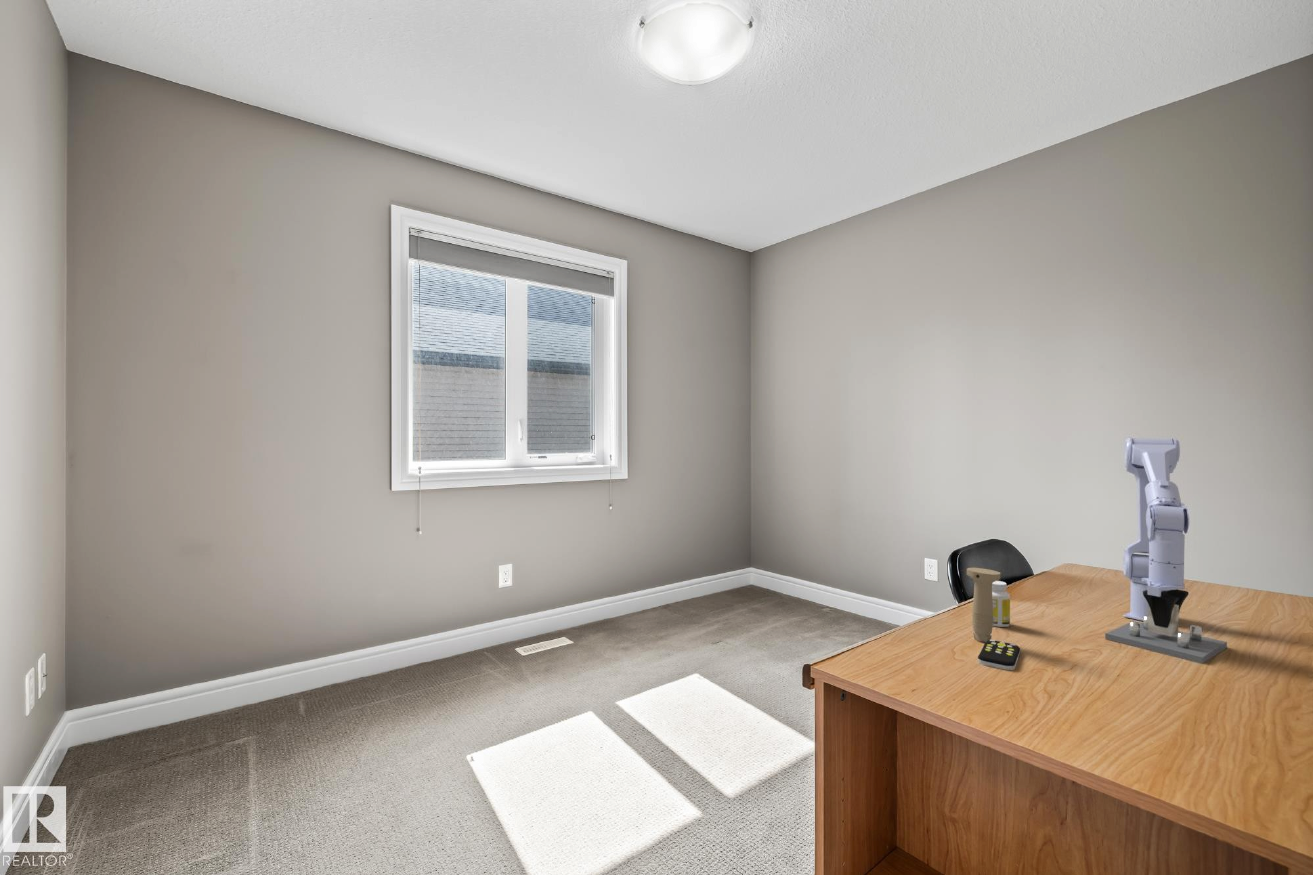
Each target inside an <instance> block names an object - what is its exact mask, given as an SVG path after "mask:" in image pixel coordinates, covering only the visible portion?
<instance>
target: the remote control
mask: <svg viewBox="0 0 1313 875" xmlns="http://www.w3.org/2000/svg"><path fill="white" fill-rule="evenodd" d="M1020 656H1021V648H1020V646H1018V645H1017V644H1016V643H1009V642H1005V641H1000V640H996V639H992V638H991V640H988V641H986V642H984V644H983V647H982V648H981V650H980V651H979V654H978V656H977V663H978V664H980V665H982V666H986V667H991V668H994V669H1000V670H1005V671H1014V670H1015V669H1016V666H1017V662H1018V660H1019V658H1020Z"/></svg>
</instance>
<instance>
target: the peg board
mask: <svg viewBox="0 0 1313 875" xmlns="http://www.w3.org/2000/svg"><path fill="white" fill-rule="evenodd" d="M1202 628H1203V627H1202V626H1198V625H1194V624H1192V625H1191V624H1190V626H1189V633H1188V632H1185V631H1181V630H1178V632H1177V634H1176V635H1174V636H1172V637H1171V636H1167V635H1163V634H1158V633H1154V632H1150V631H1148V615H1144V617H1143V622H1139V621H1134V620H1133V621H1131V620H1130V621H1129V622H1128V623H1126V624H1124V625H1121V626H1119V627H1116V628H1114V629H1112V630H1110V631H1107V632H1106V633H1104V636H1105V637H1104V639H1105V640H1108V641H1112V642H1117V643H1119V644H1120V643H1121V644H1123V645H1128V646H1132V647H1135V648H1138V649H1144V650H1147V651H1152V652H1156V653H1159V654H1163V655H1167V656H1171V657H1175V658H1179V659H1182V660H1183V659H1184V660H1186V661H1192V662H1195V663H1199V664H1204V663H1206V662H1207V661H1209V660H1210V659H1212V658H1214V657H1215V656H1216V655H1218V654H1219V653H1221V652H1222V651H1224V650H1225V649H1227V648H1228V641H1224V640H1220V639H1217V638H1210V637H1206V636H1203V635H1202V634H1203V632H1202Z"/></svg>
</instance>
